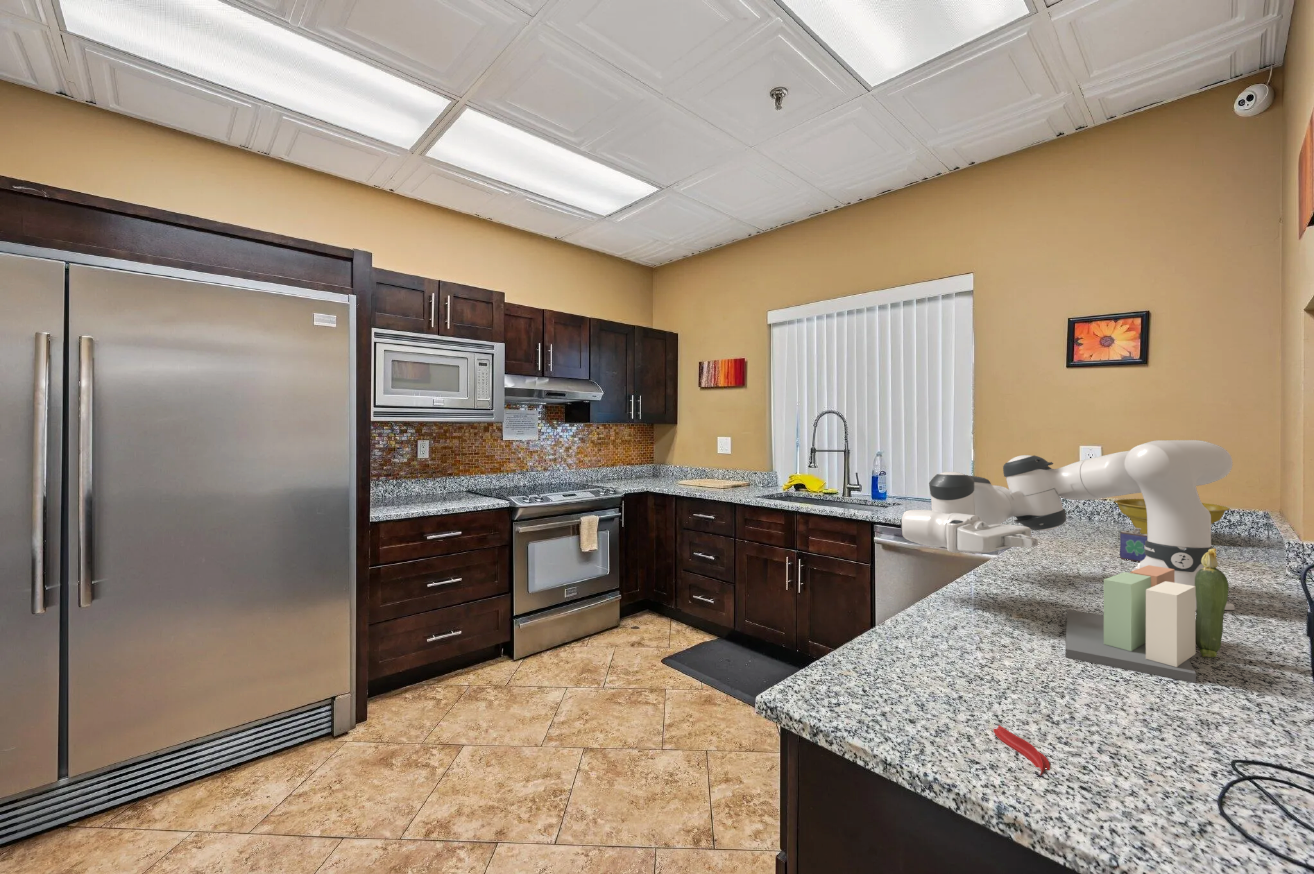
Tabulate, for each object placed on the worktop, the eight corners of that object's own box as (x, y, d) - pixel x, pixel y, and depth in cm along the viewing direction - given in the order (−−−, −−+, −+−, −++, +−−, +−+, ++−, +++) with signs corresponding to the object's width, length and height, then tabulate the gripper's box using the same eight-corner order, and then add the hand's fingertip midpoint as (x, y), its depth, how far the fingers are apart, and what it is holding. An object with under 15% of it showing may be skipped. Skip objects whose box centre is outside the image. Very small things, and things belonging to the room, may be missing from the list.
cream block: (1145, 658, 94) (1145, 589, 94) (1165, 646, 100) (1165, 581, 100) (1176, 666, 91) (1176, 595, 91) (1195, 653, 96) (1195, 586, 96)
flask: (1157, 564, 169) (1157, 529, 169) (1152, 565, 168) (1152, 530, 168) (1122, 558, 177) (1122, 525, 177) (1117, 559, 176) (1117, 525, 176)
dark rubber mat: (1067, 616, 121) (1067, 609, 121) (1171, 632, 111) (1171, 625, 111) (1065, 657, 99) (1065, 648, 99) (1195, 682, 89) (1195, 673, 89)
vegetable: (1192, 650, 102) (1193, 543, 102) (1226, 656, 99) (1226, 546, 99) (1196, 657, 98) (1196, 547, 98) (1230, 664, 96) (1230, 550, 96)
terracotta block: (1130, 633, 106) (1130, 571, 106) (1148, 623, 112) (1148, 565, 112) (1156, 639, 103) (1156, 576, 103) (1174, 629, 108) (1174, 569, 108)
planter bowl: (1228, 551, 187) (1228, 512, 187) (1107, 538, 211) (1107, 503, 211) (1230, 538, 209) (1230, 503, 209) (1121, 528, 233) (1121, 496, 233)
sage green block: (1103, 644, 101) (1103, 579, 101) (1124, 633, 106) (1124, 572, 106) (1131, 651, 98) (1131, 584, 98) (1151, 639, 103) (1151, 576, 103)
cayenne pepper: (1060, 784, 64) (1060, 768, 64) (1015, 777, 65) (1015, 761, 65) (1026, 731, 75) (1026, 717, 75) (988, 725, 77) (988, 712, 77)
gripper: (990, 541, 132) (1056, 551, 120) (943, 552, 121) (1011, 564, 109) (990, 515, 132) (1056, 523, 120) (943, 524, 121) (1011, 533, 109)
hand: (1034, 543), depth 115 cm, fingers closed
